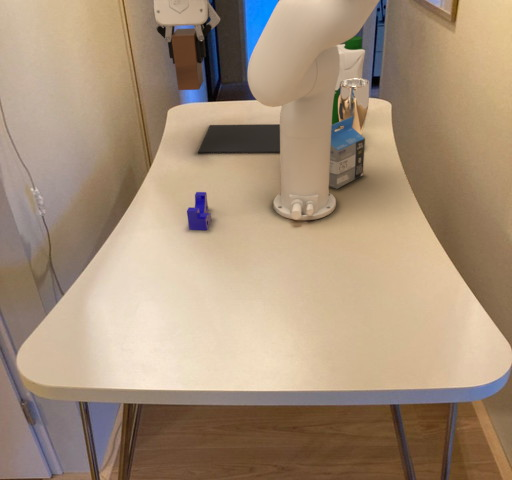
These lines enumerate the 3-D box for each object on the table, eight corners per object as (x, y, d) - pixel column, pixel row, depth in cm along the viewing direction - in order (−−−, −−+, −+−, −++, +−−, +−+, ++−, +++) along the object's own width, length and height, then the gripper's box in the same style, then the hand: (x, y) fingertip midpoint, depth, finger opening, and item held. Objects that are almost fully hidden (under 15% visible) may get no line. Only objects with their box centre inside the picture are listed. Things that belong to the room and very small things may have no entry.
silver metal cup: (333, 152, 131) (337, 86, 121) (337, 141, 136) (340, 77, 126) (363, 154, 130) (368, 87, 120) (365, 142, 135) (371, 77, 125)
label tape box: (336, 189, 116) (339, 131, 108) (322, 184, 119) (324, 127, 111) (363, 176, 121) (368, 119, 113) (349, 171, 123) (352, 115, 115)
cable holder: (207, 230, 106) (204, 211, 103) (189, 229, 107) (186, 211, 104) (215, 210, 112) (213, 192, 109) (198, 210, 112) (196, 191, 110)
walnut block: (199, 89, 112) (193, 35, 106) (178, 90, 113) (171, 36, 106) (203, 80, 117) (198, 28, 110) (183, 81, 117) (176, 28, 111)
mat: (287, 153, 132) (287, 151, 132) (198, 153, 135) (197, 151, 134) (291, 125, 146) (291, 124, 145) (210, 126, 148) (209, 125, 148)
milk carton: (362, 126, 143) (369, 41, 130) (328, 130, 142) (332, 45, 129) (351, 115, 150) (357, 33, 136) (319, 118, 149) (322, 36, 136)
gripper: (125, -43, 98) (143, 68, 110) (219, -47, 96) (227, 66, 108) (135, -48, 103) (152, 57, 115) (224, -52, 102) (231, 55, 114)
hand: (188, 60), depth 112 cm, fingers closed on walnut block, 4 cm apart
